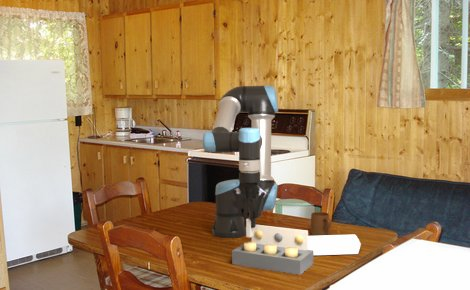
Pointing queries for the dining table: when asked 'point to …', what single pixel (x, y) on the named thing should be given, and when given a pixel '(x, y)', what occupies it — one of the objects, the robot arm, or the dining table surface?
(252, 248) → the button left
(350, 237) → the crystal
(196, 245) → the dining table surface
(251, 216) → the robot arm
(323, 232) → the mug
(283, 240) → the console
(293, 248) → the button right
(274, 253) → the button middle
